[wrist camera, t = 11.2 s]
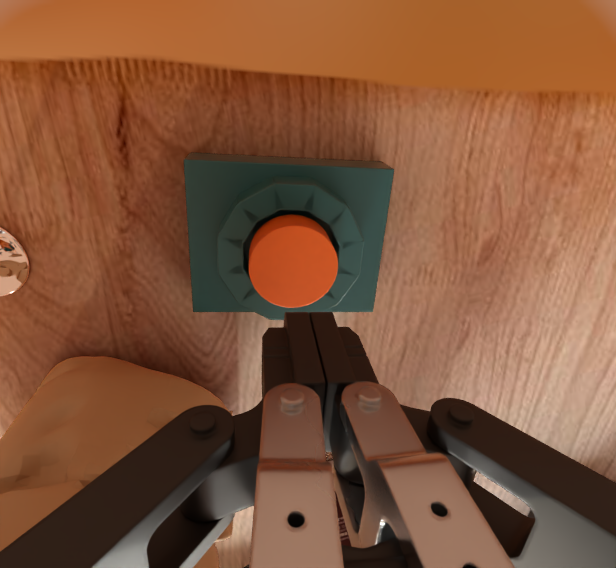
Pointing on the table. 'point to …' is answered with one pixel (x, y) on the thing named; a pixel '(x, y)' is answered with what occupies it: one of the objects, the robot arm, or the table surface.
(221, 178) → the switch box
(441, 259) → the table surface
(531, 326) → the table surface
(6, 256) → the wineglass
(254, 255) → the button
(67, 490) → the container
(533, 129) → the table surface
